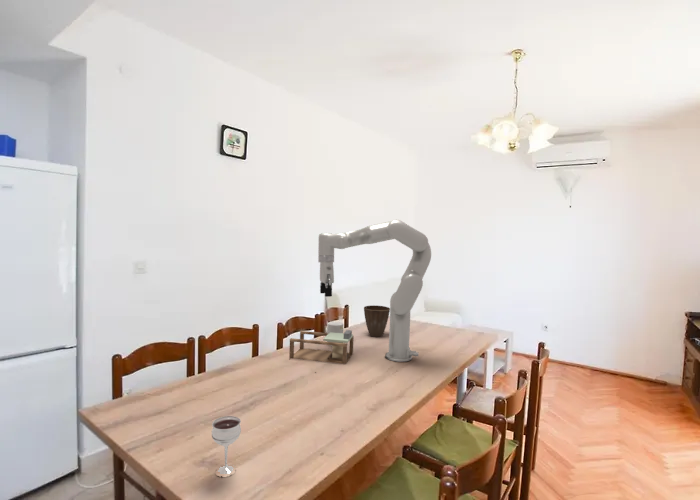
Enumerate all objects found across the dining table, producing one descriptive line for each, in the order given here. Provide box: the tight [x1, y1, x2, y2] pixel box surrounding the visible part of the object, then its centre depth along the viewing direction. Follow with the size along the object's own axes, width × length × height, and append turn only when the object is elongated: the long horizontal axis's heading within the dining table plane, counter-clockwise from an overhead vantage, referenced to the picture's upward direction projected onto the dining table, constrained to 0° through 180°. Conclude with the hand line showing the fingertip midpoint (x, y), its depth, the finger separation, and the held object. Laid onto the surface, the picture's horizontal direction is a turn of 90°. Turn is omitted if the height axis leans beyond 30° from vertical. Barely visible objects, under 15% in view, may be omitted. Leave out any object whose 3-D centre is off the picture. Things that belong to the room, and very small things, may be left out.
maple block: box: [331, 342, 343, 359], centre depth 172 cm, size 5×5×6 cm
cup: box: [326, 321, 344, 347], centre depth 193 cm, size 8×8×12 cm
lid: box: [322, 329, 354, 344], centre depth 172 cm, size 11×11×4 cm
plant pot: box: [363, 304, 390, 338], centre depth 216 cm, size 15×15×16 cm
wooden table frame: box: [288, 330, 355, 365], centre depth 174 cm, size 26×15×10 cm, turn 78°
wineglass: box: [211, 415, 242, 474], centre depth 91 cm, size 7×7×12 cm
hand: (325, 294), depth 181 cm, fingers open, 9 cm apart
